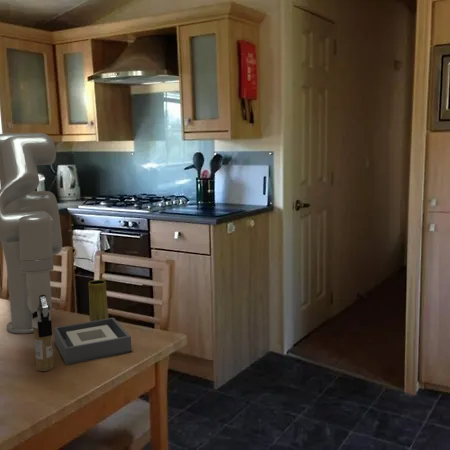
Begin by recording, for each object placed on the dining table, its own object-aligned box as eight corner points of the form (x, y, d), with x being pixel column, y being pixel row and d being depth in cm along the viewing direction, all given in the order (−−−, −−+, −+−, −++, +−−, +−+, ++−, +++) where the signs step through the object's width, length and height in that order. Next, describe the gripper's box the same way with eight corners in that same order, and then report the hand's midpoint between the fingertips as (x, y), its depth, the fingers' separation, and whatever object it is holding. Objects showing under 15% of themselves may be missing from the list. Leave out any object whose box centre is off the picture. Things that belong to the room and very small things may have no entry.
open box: (54, 342, 157) (53, 327, 156) (114, 331, 165) (113, 317, 164) (66, 365, 142) (65, 348, 141) (131, 352, 149) (130, 336, 148)
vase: (111, 322, 173) (109, 279, 170) (105, 329, 167) (103, 284, 164) (93, 322, 173) (90, 279, 171) (86, 329, 167) (84, 284, 165)
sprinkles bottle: (56, 368, 139) (52, 319, 137) (38, 373, 137) (34, 322, 135) (51, 362, 143) (47, 314, 141) (33, 367, 141) (29, 317, 138)
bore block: (66, 341, 156) (65, 331, 155) (107, 334, 161) (107, 324, 160) (74, 356, 145) (74, 346, 145) (118, 348, 150) (118, 338, 150)
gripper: (17, 260, 141) (23, 323, 144) (25, 273, 126) (31, 343, 128) (47, 257, 144) (52, 318, 147) (58, 269, 129) (64, 338, 132)
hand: (42, 330), depth 138 cm, fingers open, 9 cm apart
